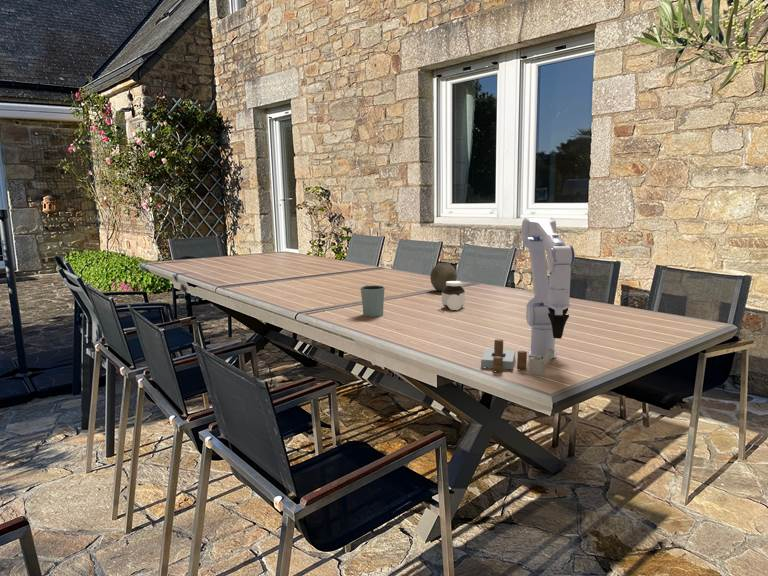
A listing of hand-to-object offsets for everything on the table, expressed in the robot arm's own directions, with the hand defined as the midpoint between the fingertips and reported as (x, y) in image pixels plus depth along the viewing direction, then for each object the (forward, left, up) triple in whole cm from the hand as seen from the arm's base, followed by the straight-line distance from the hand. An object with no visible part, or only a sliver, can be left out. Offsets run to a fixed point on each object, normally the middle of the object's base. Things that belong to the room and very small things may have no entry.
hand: (557, 335), depth 163 cm
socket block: (-1, -17, -10) cm, 19 cm away
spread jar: (-82, -43, -10) cm, 93 cm away
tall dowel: (-1, -17, -10) cm, 19 cm away
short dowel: (+7, -16, -10) cm, 20 cm away
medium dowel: (+3, -10, -10) cm, 14 cm away
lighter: (+8, -4, -10) cm, 13 cm away
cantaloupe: (-127, -56, -10) cm, 139 cm away
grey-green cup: (-59, -74, -10) cm, 95 cm away
